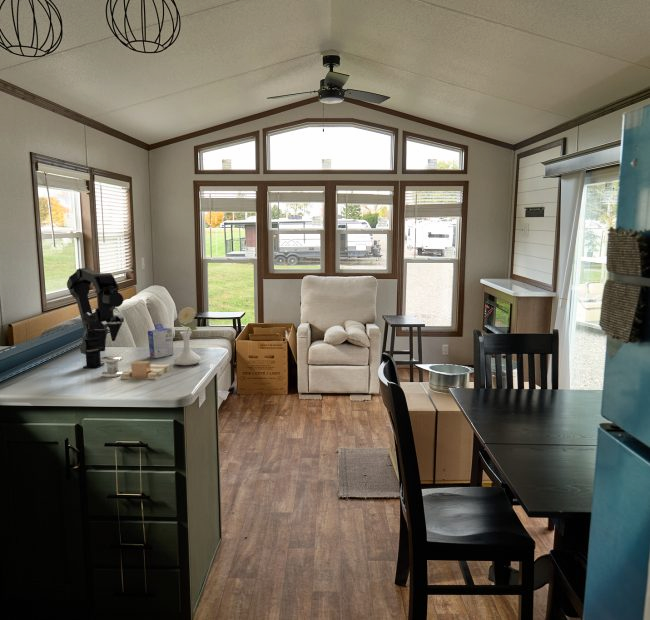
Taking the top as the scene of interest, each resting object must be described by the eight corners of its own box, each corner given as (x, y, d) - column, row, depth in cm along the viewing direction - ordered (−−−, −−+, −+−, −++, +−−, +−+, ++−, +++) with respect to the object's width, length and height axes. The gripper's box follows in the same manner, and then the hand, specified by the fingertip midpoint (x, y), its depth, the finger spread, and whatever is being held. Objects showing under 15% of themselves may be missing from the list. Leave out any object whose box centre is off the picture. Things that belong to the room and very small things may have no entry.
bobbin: (108, 372, 232) (106, 355, 231) (127, 372, 231) (125, 355, 230) (98, 377, 224) (97, 360, 223) (118, 377, 223) (116, 360, 222)
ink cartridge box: (168, 353, 266) (166, 322, 264) (174, 354, 262) (172, 323, 260) (148, 356, 259) (146, 325, 257) (154, 358, 255) (152, 326, 253)
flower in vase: (168, 364, 243) (165, 306, 240) (191, 359, 252) (188, 303, 248) (186, 369, 235) (182, 309, 231) (209, 364, 243) (206, 305, 239)
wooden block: (136, 375, 226) (135, 361, 225) (151, 376, 225) (150, 361, 224) (132, 378, 222) (131, 363, 221) (147, 378, 221) (146, 363, 220)
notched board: (137, 368, 237) (137, 364, 237) (170, 368, 236) (170, 364, 235) (120, 379, 221) (120, 374, 221) (155, 379, 220) (155, 374, 220)
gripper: (97, 302, 238) (100, 338, 240) (73, 308, 219) (77, 348, 222) (123, 301, 237) (125, 338, 239) (101, 308, 218) (104, 348, 221)
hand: (108, 343), depth 230 cm, fingers open, 9 cm apart
